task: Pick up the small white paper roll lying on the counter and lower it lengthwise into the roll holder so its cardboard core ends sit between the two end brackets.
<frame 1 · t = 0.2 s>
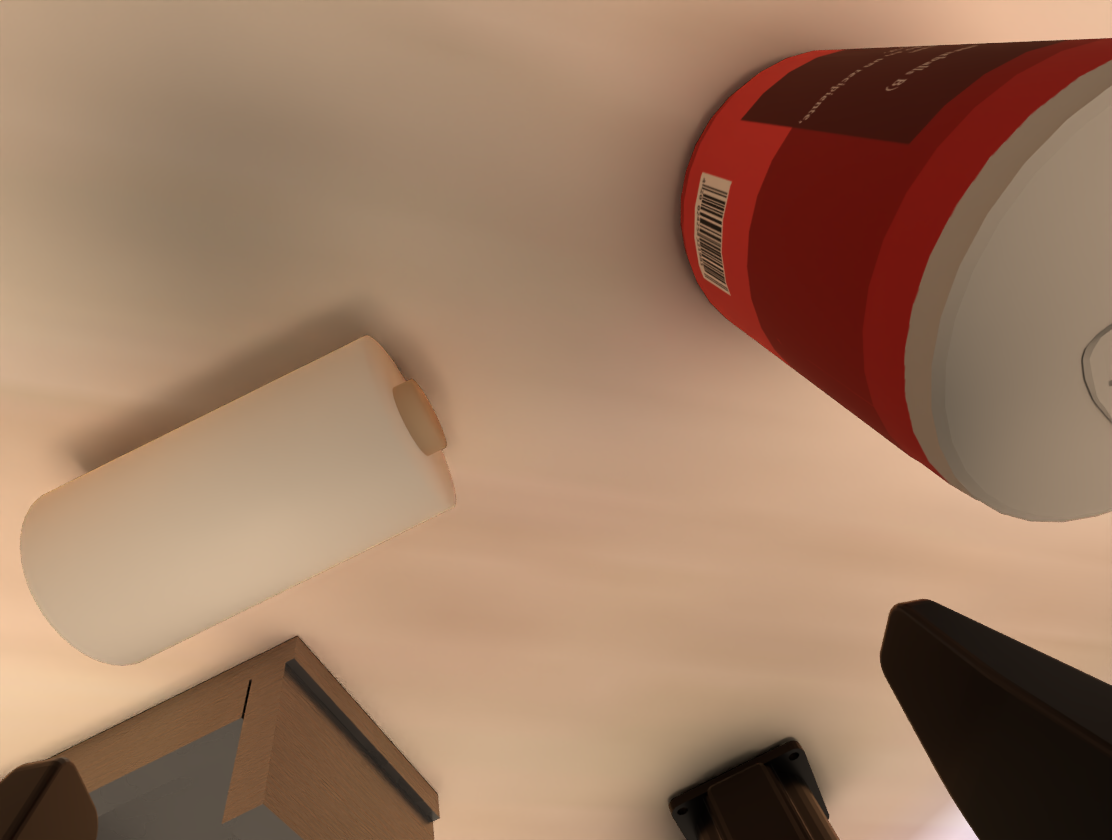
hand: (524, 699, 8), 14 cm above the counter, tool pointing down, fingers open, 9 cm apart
canned food: (792, 200, 21), on the counter
holder: (178, 819, 26), on the counter
roll: (274, 457, 21), on the counter
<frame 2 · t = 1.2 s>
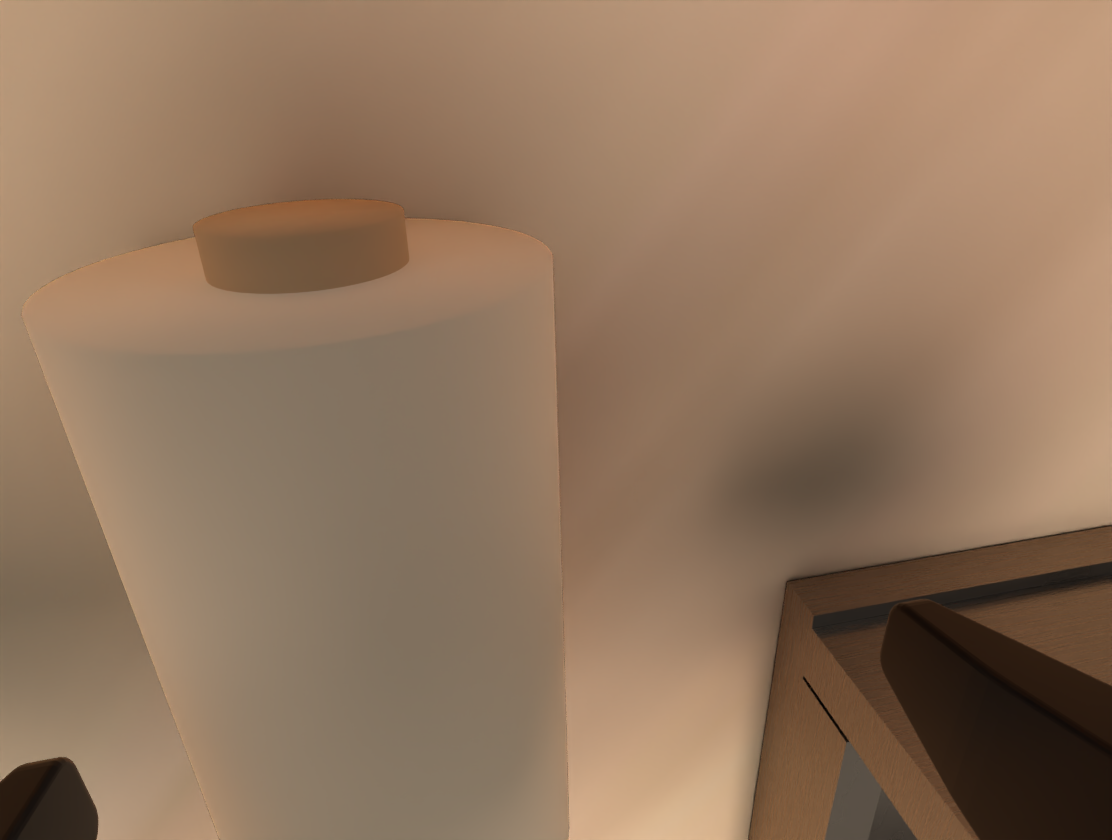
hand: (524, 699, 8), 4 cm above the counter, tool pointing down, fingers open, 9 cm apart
holder: (927, 794, 19), on the counter
roll: (471, 506, 11), on the counter, tilted 37°
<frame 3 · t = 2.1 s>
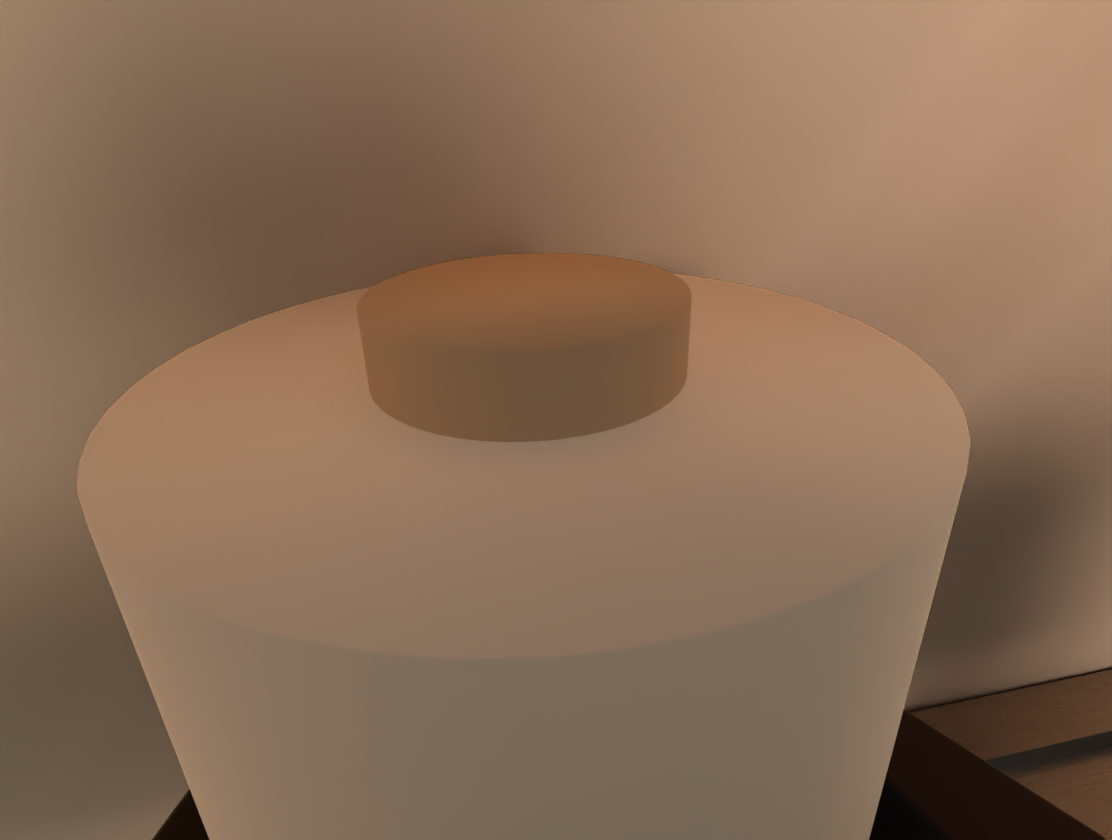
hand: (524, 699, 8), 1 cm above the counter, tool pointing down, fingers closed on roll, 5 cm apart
roll: (513, 631, 9), on the counter, touching gripper
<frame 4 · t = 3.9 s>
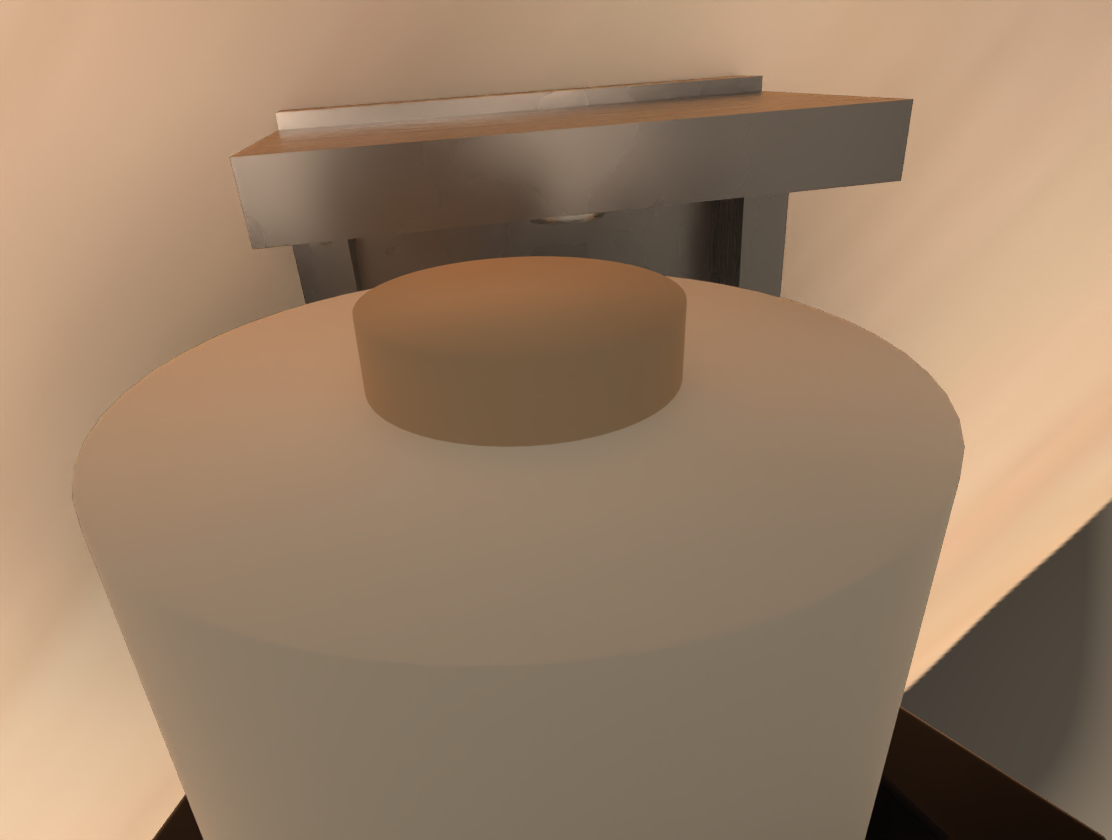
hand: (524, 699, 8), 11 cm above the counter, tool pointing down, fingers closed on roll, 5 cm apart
holder: (548, 423, 19), on the counter
roll: (510, 633, 9), point 10 cm above the counter, touching gripper
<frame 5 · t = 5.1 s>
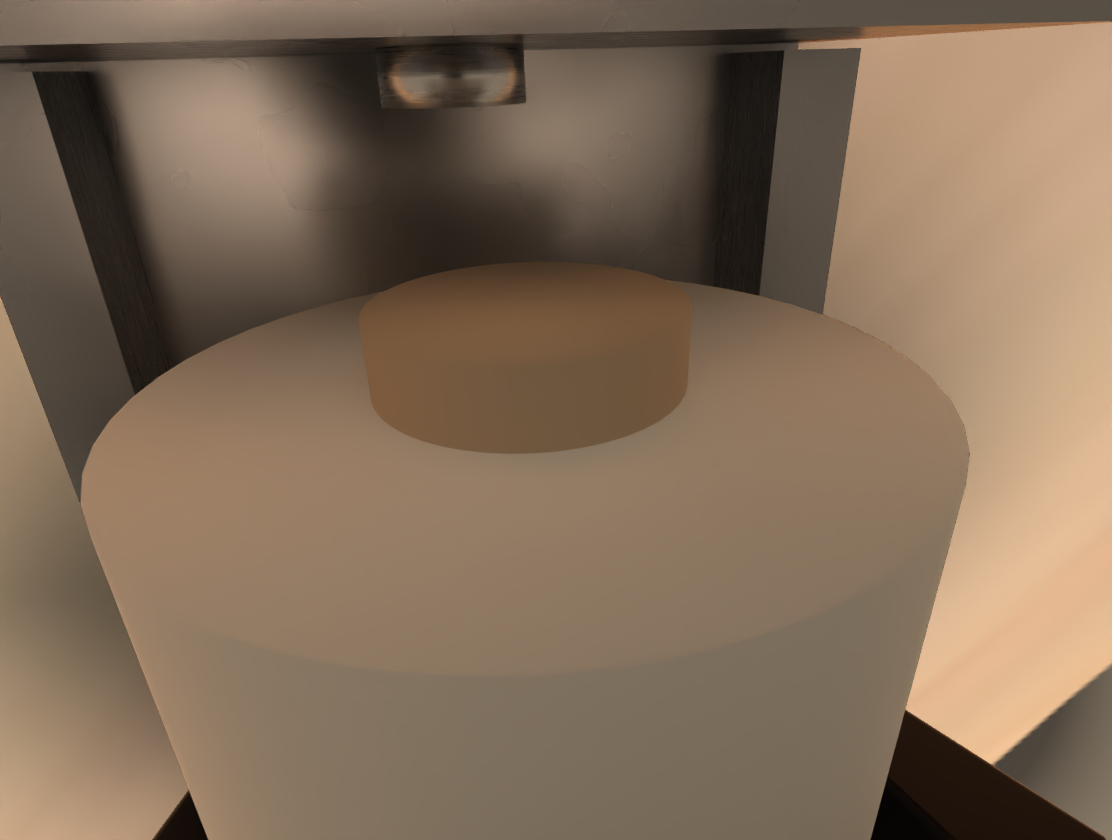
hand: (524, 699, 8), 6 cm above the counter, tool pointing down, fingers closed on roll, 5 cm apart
holder: (467, 463, 13), on the counter
roll: (513, 636, 9), point 4 cm above the counter, touching gripper
when the fingers open (4 cm above the counter, at t = 5.8 s): roll drops 2 cm, resting on holder.
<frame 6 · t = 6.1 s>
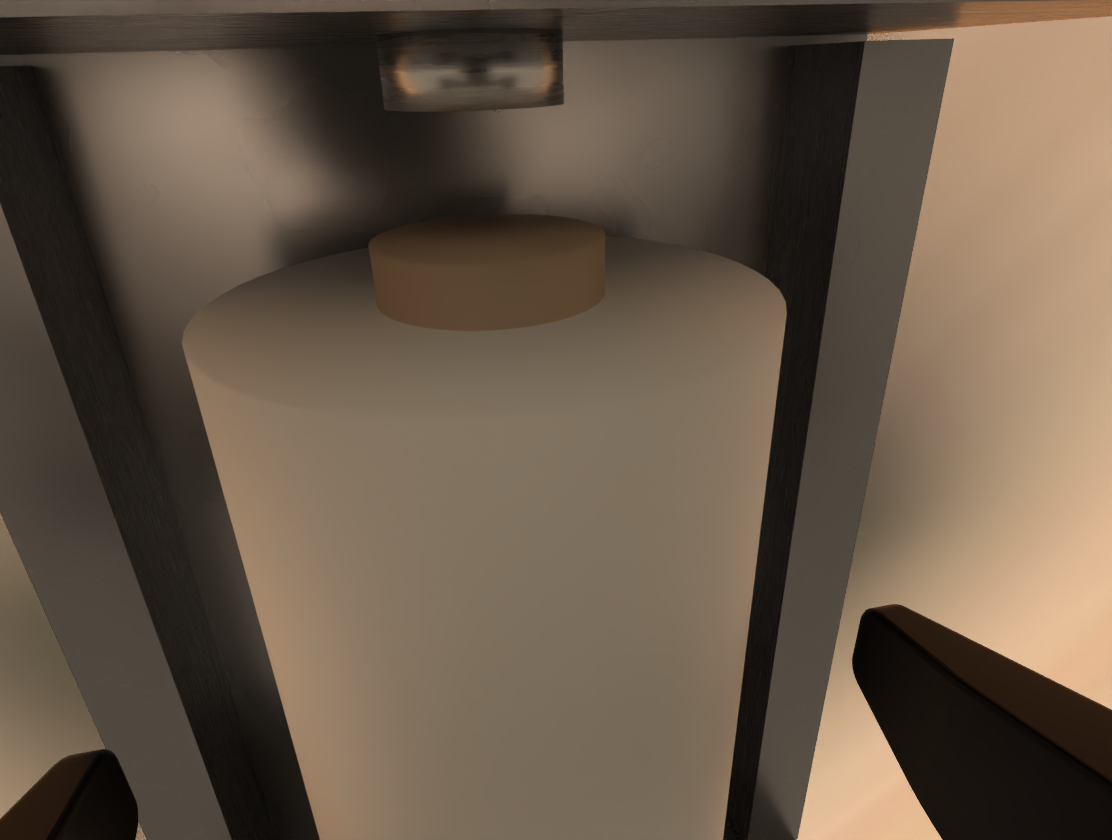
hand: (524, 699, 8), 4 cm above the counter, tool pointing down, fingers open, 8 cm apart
holder: (479, 506, 11), on the counter
roll: (492, 543, 11), point 1 cm above the counter, touching holder
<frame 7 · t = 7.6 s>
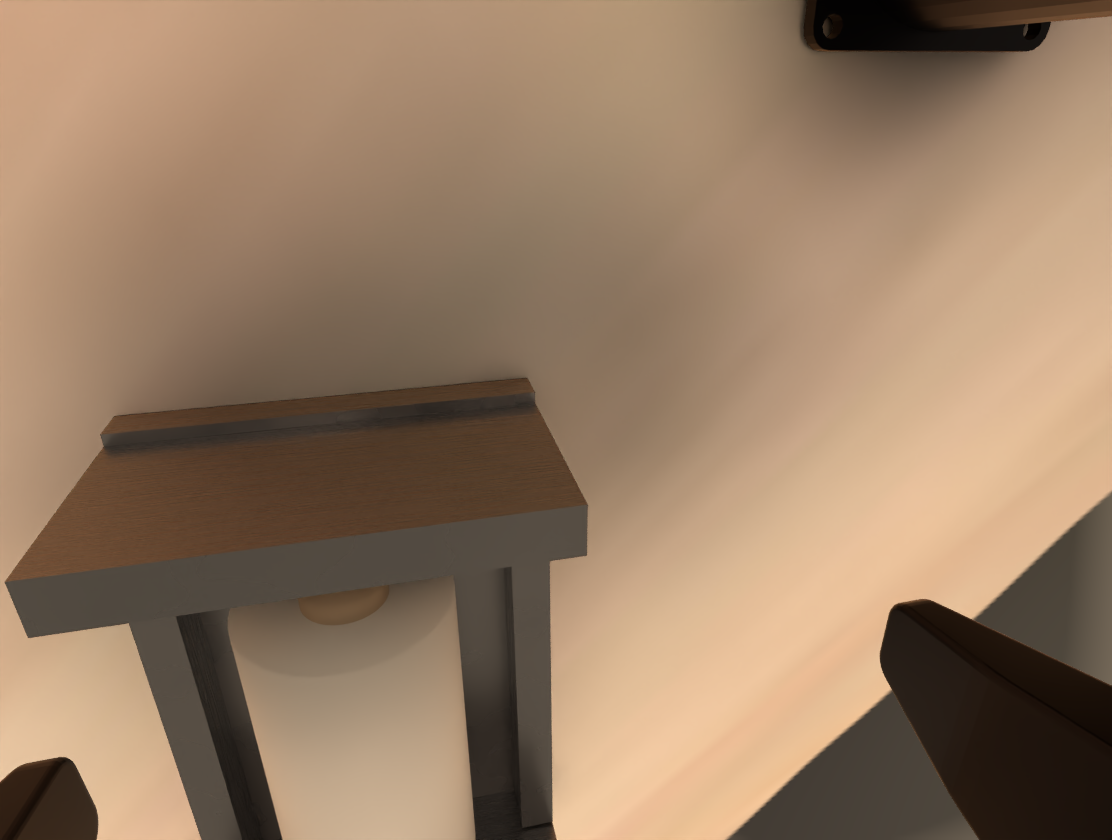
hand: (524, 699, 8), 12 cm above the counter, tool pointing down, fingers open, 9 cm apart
holder: (369, 640, 21), on the counter
roll: (372, 664, 21), point 1 cm above the counter, touching holder
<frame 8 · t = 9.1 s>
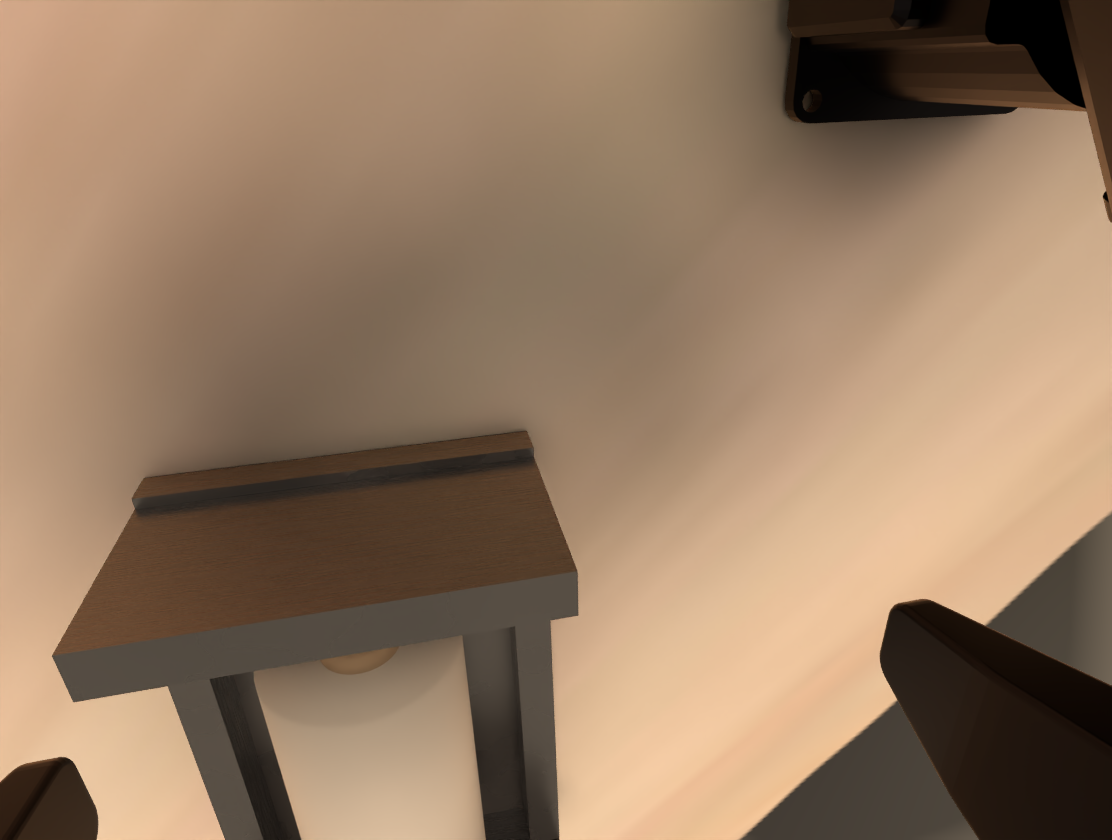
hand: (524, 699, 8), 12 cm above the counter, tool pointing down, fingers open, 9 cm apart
holder: (384, 672, 23), on the counter
roll: (387, 696, 22), point 1 cm above the counter, touching holder
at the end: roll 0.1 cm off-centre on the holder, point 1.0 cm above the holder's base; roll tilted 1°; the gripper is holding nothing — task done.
